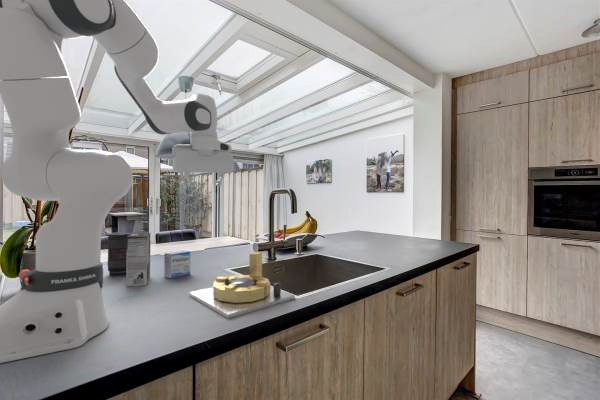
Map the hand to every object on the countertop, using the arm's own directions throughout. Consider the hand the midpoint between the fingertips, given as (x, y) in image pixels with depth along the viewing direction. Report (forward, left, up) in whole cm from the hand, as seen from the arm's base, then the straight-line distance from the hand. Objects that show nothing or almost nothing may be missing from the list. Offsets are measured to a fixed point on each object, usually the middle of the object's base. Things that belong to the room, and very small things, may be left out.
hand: (205, 186), depth 105 cm
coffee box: (-17, +12, -33) cm, 39 cm away
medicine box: (-4, +12, -33) cm, 35 cm away
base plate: (+1, -23, -33) cm, 40 cm away
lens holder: (+2, -23, -31) cm, 39 cm away
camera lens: (-19, +27, -33) cm, 47 cm away
